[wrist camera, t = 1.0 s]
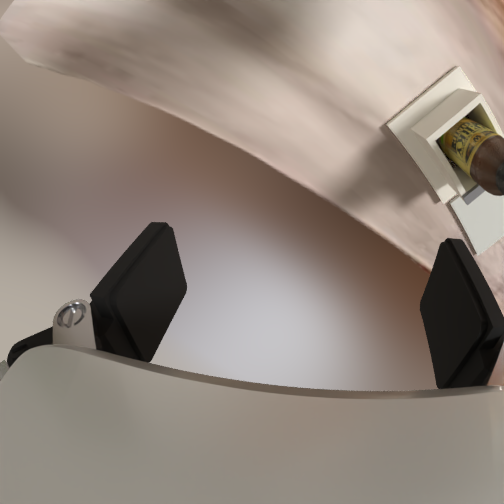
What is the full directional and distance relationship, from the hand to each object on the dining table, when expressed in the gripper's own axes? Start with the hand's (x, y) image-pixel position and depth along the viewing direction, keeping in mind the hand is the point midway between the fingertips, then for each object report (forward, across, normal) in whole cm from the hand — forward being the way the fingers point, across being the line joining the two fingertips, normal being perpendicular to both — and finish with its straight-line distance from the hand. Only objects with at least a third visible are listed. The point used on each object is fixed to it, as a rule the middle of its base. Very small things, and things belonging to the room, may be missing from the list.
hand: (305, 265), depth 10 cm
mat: (+30, -29, +10) cm, 43 cm away
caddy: (+31, -19, 0) cm, 36 cm away
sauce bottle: (+31, -19, 0) cm, 36 cm away
